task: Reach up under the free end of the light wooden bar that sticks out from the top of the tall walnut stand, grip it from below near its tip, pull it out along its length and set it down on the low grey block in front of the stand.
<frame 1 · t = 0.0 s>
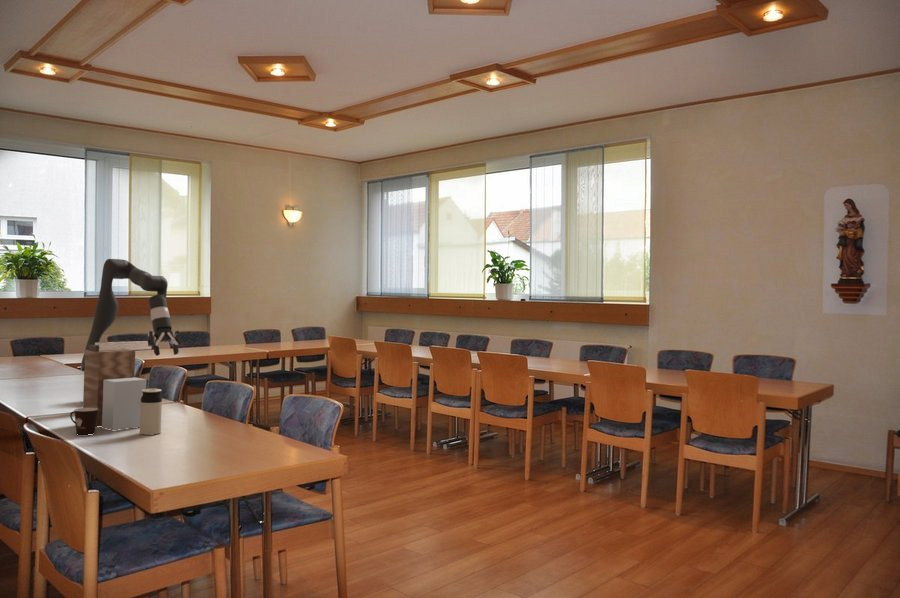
hand: (167, 354, 295), 31 cm above the table, tool tilted 20°, fingers open, 8 cm apart
grey block: (123, 427, 293), on the table
light wooden bar: (123, 349, 305), point 32 cm above the table, touching walnut stand
walnut stand: (107, 423, 300), on the table
travel mug: (150, 434, 283), on the table
coffee mug: (84, 434, 278), on the table
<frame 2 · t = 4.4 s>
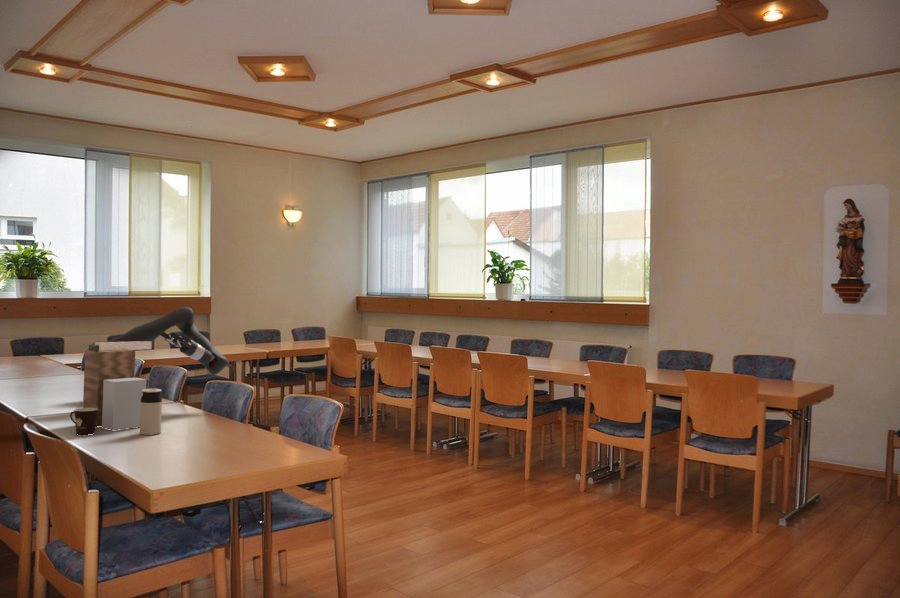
hand: (166, 333, 321), 39 cm above the table, tool pointing upward, fingers open, 8 cm apart
nothing on the table moved.
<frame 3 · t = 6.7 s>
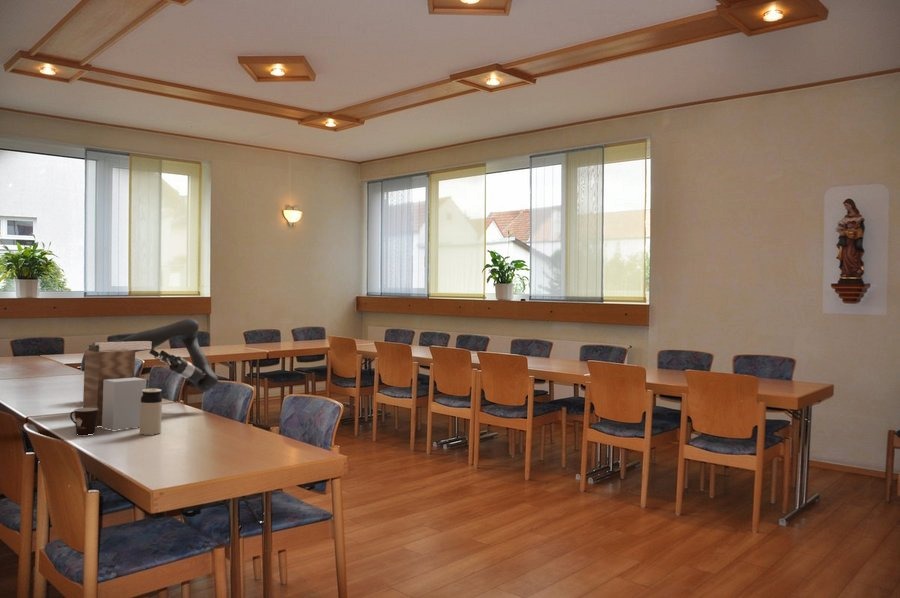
hand: (155, 351, 318), 31 cm above the table, tool pointing upward, fingers open, 8 cm apart
nothing on the table moved.
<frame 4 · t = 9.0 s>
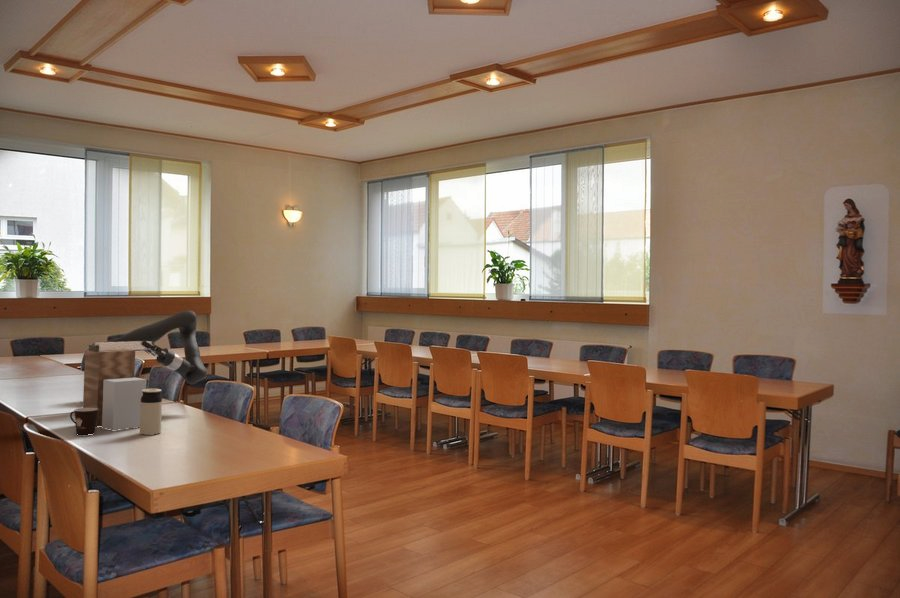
hand: (140, 342, 311), 35 cm above the table, tool pointing upward, fingers closed on light wooden bar, 3 cm apart
light wooden bar: (123, 349, 305), point 32 cm above the table, touching gripper, walnut stand
everything else where it was.
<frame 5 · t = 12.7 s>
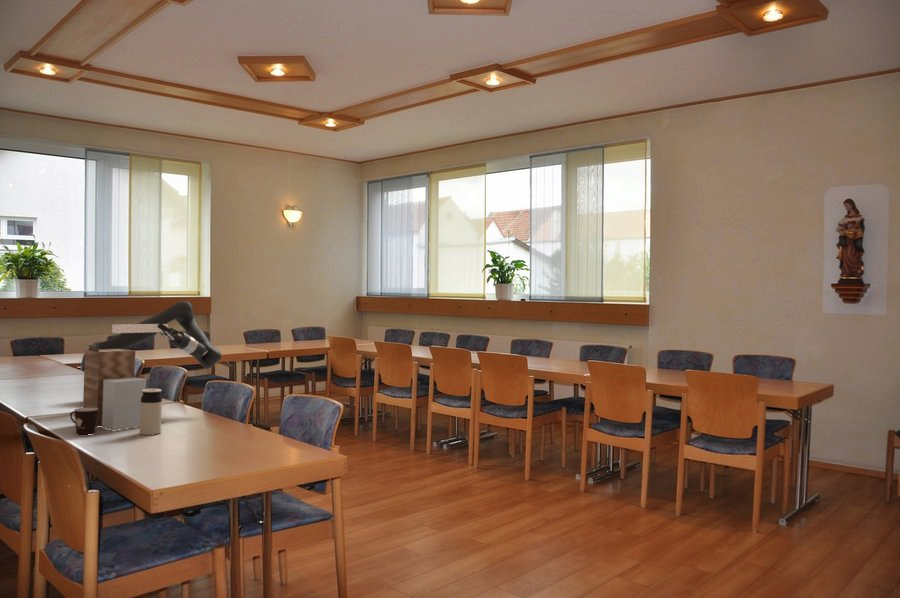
hand: (156, 324, 311), 43 cm above the table, tool pointing upward, fingers closed on light wooden bar, 3 cm apart
light wooden bar: (140, 332, 305), point 40 cm above the table, touching gripper
everything else where it was.
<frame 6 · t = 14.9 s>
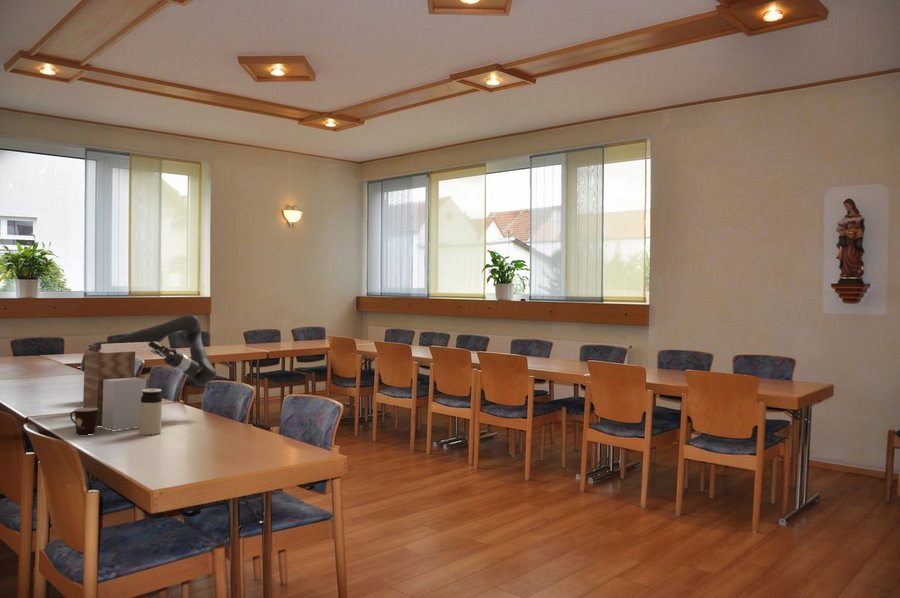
hand: (147, 343, 300), 36 cm above the table, tool pointing upward, fingers closed on light wooden bar, 3 cm apart
light wooden bar: (130, 351, 294), point 33 cm above the table, touching gripper
everything else where it was.
when the fingers open (25 cm above the table, at t = 16.7 s): light wooden bar drops 2 cm, resting on grey block.
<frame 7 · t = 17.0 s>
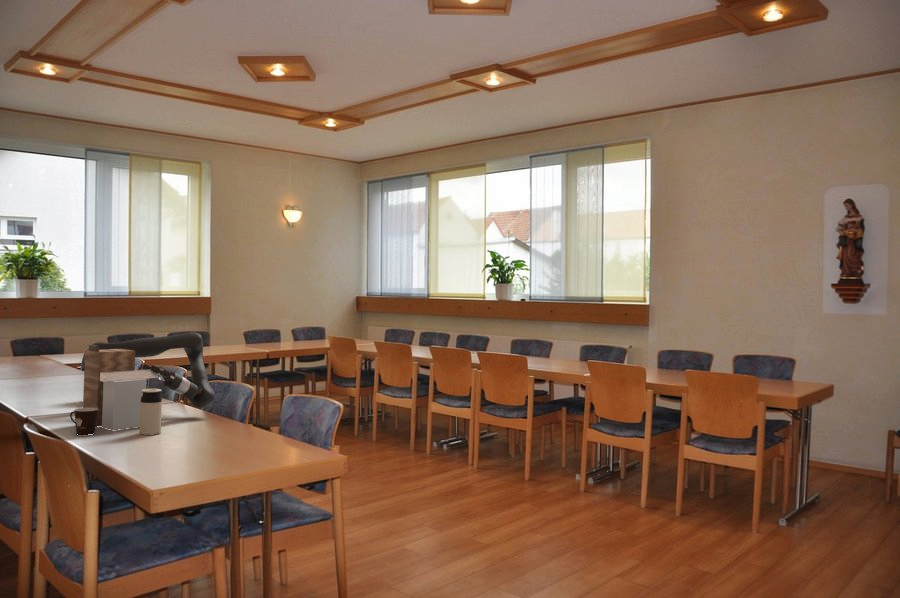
hand: (147, 366, 301), 25 cm above the table, tool pointing upward, fingers open, 6 cm apart
light wooden bar: (129, 379, 294), point 20 cm above the table, touching grey block
everything else where it was.
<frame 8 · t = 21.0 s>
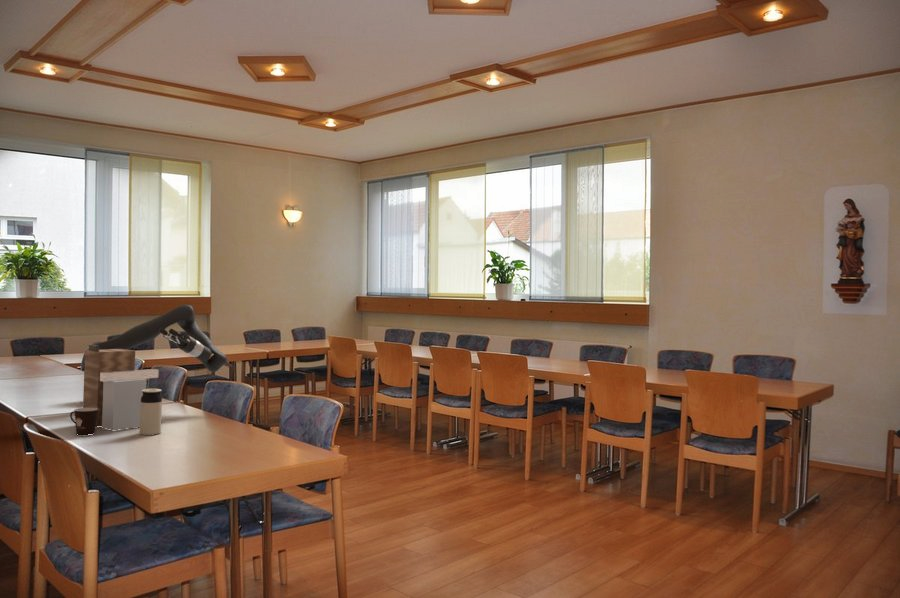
hand: (164, 329, 316), 41 cm above the table, tool pointing upward, fingers open, 8 cm apart
nothing on the table moved.
at the end: light wooden bar inside the target area on the grey block (0.4 cm from its centre), point 20.5 cm above the grey block's base; light wooden bar moved 17.8 cm from its start; the gripper is holding nothing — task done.
